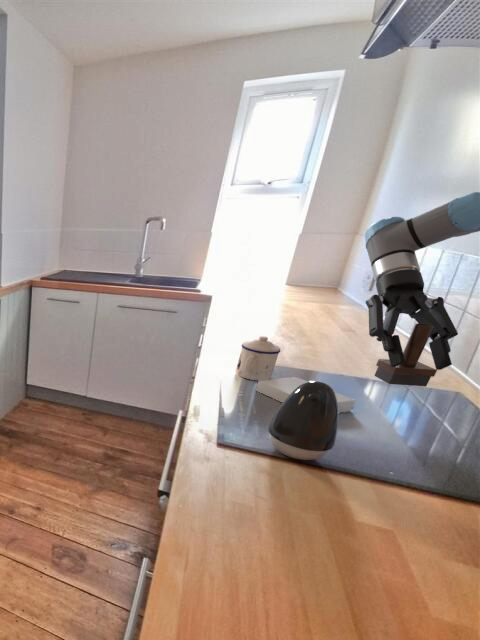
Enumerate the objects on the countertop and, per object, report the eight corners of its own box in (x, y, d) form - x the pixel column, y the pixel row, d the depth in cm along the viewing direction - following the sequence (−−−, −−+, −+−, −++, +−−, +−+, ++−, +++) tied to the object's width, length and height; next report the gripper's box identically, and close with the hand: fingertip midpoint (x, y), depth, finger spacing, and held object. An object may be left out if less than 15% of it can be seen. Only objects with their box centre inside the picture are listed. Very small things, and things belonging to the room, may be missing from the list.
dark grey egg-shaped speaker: (257, 453, 81) (280, 382, 75) (269, 434, 88) (290, 367, 82) (322, 474, 74) (353, 399, 68) (330, 452, 81) (358, 381, 75)
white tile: (351, 411, 98) (355, 400, 96) (310, 416, 95) (314, 405, 94) (292, 387, 111) (295, 376, 110) (255, 391, 109) (258, 380, 107)
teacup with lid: (241, 367, 124) (251, 330, 120) (276, 376, 118) (288, 337, 113) (224, 377, 117) (235, 338, 113) (261, 387, 111) (273, 346, 106)
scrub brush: (409, 377, 95) (435, 322, 90) (429, 387, 90) (457, 329, 85) (371, 375, 97) (394, 320, 92) (388, 384, 92) (413, 327, 87)
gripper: (435, 288, 98) (461, 376, 90) (336, 285, 102) (353, 369, 94) (465, 268, 91) (497, 361, 83) (358, 266, 95) (378, 354, 87)
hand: (420, 365), depth 89 cm, fingers closed on scrub brush, 8 cm apart
